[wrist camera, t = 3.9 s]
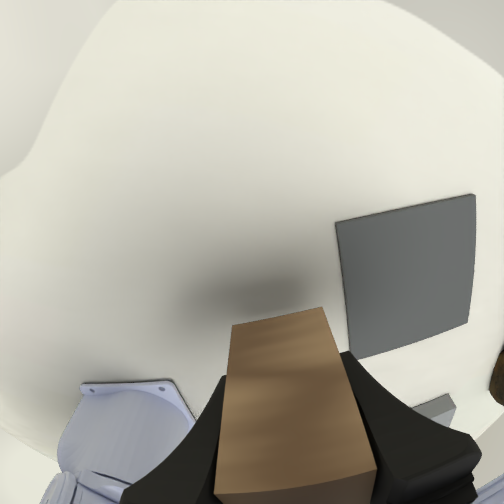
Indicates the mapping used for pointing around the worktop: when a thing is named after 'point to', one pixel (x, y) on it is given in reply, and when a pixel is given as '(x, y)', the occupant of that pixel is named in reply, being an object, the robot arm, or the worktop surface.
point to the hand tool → (498, 380)
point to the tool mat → (407, 273)
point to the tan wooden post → (291, 418)
